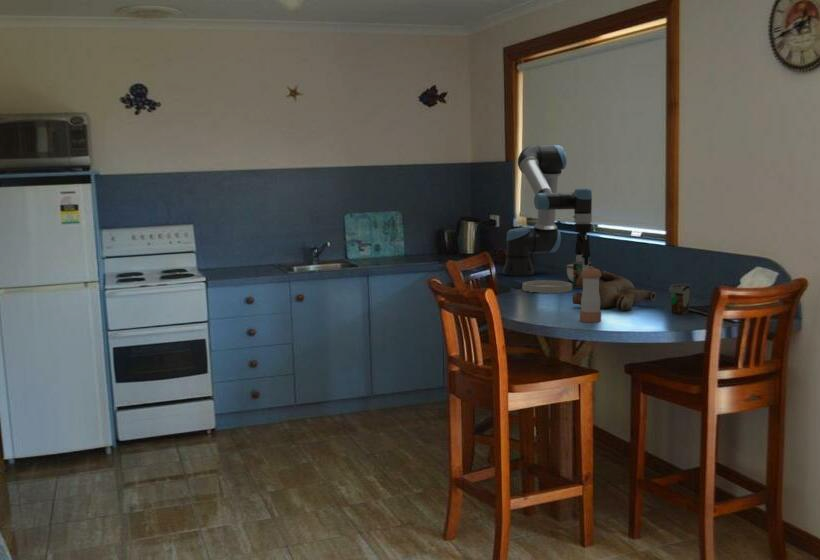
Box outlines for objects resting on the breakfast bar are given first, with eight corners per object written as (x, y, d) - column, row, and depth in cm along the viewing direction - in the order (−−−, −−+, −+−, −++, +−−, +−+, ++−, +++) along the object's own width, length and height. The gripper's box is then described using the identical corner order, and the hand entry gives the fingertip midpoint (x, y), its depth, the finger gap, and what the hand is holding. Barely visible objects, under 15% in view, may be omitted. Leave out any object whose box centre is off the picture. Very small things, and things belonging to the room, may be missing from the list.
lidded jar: (591, 283, 395) (592, 262, 393) (568, 283, 395) (568, 263, 394) (587, 280, 405) (587, 260, 404) (564, 280, 405) (565, 260, 404)
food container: (672, 309, 320) (673, 282, 318) (689, 310, 316) (690, 283, 315) (664, 314, 309) (665, 286, 308) (681, 315, 306) (682, 287, 305)
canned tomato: (594, 287, 380) (594, 262, 378) (578, 288, 377) (579, 263, 376) (584, 285, 387) (585, 261, 386) (569, 286, 384) (569, 262, 383)
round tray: (519, 286, 384) (519, 280, 384) (566, 286, 385) (566, 280, 384) (526, 293, 364) (526, 287, 363) (575, 292, 364) (575, 286, 363)
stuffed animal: (572, 270, 322) (635, 283, 308) (604, 269, 347) (664, 281, 333) (566, 304, 324) (629, 318, 310) (599, 300, 349) (658, 313, 335)
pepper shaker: (591, 323, 293) (591, 267, 290) (575, 320, 299) (576, 266, 296) (605, 320, 297) (606, 266, 294) (589, 318, 303) (590, 264, 300)
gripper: (568, 222, 391) (568, 268, 393) (580, 224, 366) (579, 273, 368) (585, 221, 391) (584, 267, 393) (597, 224, 366) (597, 273, 369)
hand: (582, 270), depth 381 cm, fingers open, 13 cm apart
